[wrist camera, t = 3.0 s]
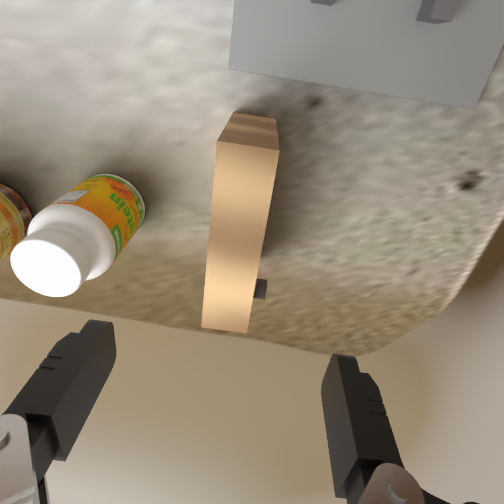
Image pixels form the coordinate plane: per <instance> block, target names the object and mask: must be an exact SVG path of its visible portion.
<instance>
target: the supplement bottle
mask: <svg viewBox="0 0 504 504" xmlns="http://www.w3.org/2000/svg"><path fill="white" fill-rule="evenodd" d="M144 216H145V206H144V202H143V199H142V197H141V195H140V193H139V192H138V191H137V189H136V188H135V187H134V186H133V185H132V184H131V183H129V182H128V181H127V180H125V179H123V178H121V177H119V176H116V175H112V174H98V175H95V176H92V177H90V178H88V179H86V180H85V181H83V182H82V183H80V184H79V185H78V186H76V187H75V188H73V189H72V190H70V191H69V192H67V193H66V194H64V195H63V196H62V197H60V198H59V199H57V200H56V201H54V202H53V203H52V204H50V205H48V206H47V207H46V208H44V209H43V210H41V211H40V212H39V213H38V214H37V215H36V216H35V217H34V218H33V219H32V221H31V222H30V224H29V227H28V232H27V237H25V238H24V239H23V240H22V241H21V242H19V243H18V244H17V245H16V246H15V247H14V249H13V251H12V253H11V265H12V268H13V270H14V272H15V274H16V276H17V277H18V278H19V279H20V281H22V282H23V283H24V284H25V285H26V286H27V287H29V288H30V289H32V290H34V291H36V292H38V293H40V294H43V295H46V296H52V297H62V296H67V295H70V294H72V293H73V292H75V291H76V290H77V289H78V288H79V287H80V286H81V285H82V283H83V282H84V281H85V280H89V279H93V278H96V277H98V276H99V275H101V274H102V273H104V272H105V271H106V270H107V269H108V268H109V267H110V266H111V264H112V263H113V262H114V260H115V259H116V258H117V256H118V255H119V254H120V252H121V251H122V250H123V248H124V247H125V246H126V244H127V243H128V242H129V240H130V239H131V238H132V236H133V235H134V234H135V232H136V231H137V230H138V228H139V227H140V225H141V224H142V222H143V220H144Z"/></svg>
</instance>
